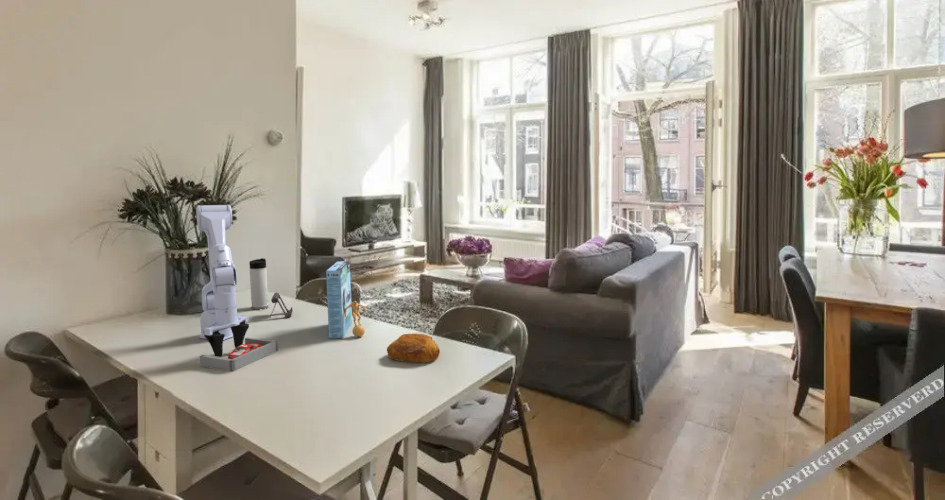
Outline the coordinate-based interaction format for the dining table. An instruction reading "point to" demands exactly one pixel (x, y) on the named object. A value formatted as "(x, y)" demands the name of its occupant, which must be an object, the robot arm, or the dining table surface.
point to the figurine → (358, 329)
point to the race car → (243, 350)
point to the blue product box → (339, 299)
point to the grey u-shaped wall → (242, 360)
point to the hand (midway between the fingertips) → (228, 351)
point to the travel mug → (258, 284)
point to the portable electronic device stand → (275, 300)
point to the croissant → (413, 348)
